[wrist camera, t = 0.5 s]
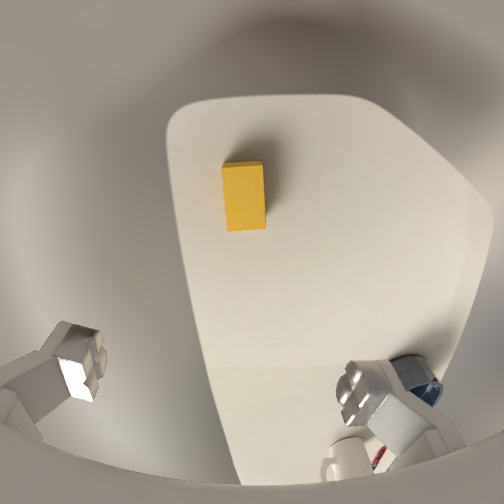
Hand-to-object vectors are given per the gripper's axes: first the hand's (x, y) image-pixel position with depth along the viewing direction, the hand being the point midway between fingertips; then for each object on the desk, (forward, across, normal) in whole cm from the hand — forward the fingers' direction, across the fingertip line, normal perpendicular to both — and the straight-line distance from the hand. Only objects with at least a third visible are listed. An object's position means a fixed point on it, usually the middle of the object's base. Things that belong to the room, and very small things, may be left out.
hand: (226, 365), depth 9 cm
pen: (+18, -38, +48) cm, 64 cm away
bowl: (+18, -26, +20) cm, 37 cm away
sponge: (+18, -1, -2) cm, 18 cm away
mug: (+18, -24, +38) cm, 49 cm away
